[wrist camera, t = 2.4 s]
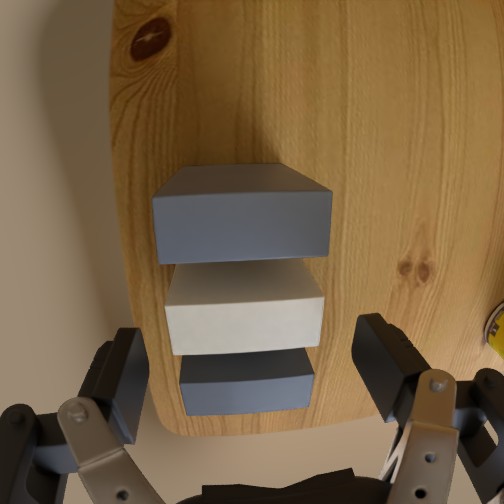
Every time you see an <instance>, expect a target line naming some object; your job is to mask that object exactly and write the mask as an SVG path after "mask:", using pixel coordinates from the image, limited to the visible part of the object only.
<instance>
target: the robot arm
mask: <svg viewBox="0 0 504 504" xmlns="http://www.w3.org/2000/svg"><path fill="white" fill-rule="evenodd" d="M351 352H352V359H353V362H354V364H355V366H356V368H357V370H358V372H359V374H360V376H361V377H362V379H363V381H364V383H365V385H366V387H367V389H368V391H369V393H370V395H371V397H372V399H373V400H374V402H375V404H376V406H377V408H378V410H379V412H380V414H381V416H382V418H383V420H384V422H385V423H388V422H391V421H395V420H397V422H398V424H399V425H398V427H397V429H396V432H395V435H394V438H393V441H392V444H391V447H390V450H389V453H388V455H387V458H386V461H385V464H384V466H383V469H382V471H381V473H380V475H379V477H378V479H375V478H370V477H361V476H355V475H354V472H353V470H352V468H348V469H344V470H339V471H334V472H330V473H324V474H319V475H316V476H313V477H311V478H308V479H306V480H303V481H301V482H298V483H295V484H293V485H290V486H287V487H284V488H266V487H258V486H249V485H242V484H234V485H203V486H202V494H201V495H196V496H193V497H190V498H187V499H185V500H182V501H180V502H178V503H176V504H447V499H448V496H449V491H450V486H451V482H452V476H453V471H454V465H455V460H456V454H458V456H459V458H460V459H461V461H462V463H463V465H464V467H465V469H466V471H467V473H468V475H469V477H470V479H471V481H472V484H473V486H474V488H475V490H476V492H477V494H478V496H479V498H480V500H481V502H482V504H504V376H503V375H502V374H501V373H500V372H498V371H497V370H494V369H491V368H483V369H480V370H479V371H478V372H477V373H476V375H475V377H474V379H473V380H471V381H455V379H454V377H453V376H452V375H450V374H449V373H447V372H446V371H443V370H440V369H432V368H431V367H430V366H429V364H428V363H427V362H426V360H425V359H424V358H423V357H422V355H421V354H420V353H419V351H418V350H417V349H416V348H415V347H413V344H412V343H411V341H410V340H408V338H407V336H406V335H405V334H404V333H403V331H402V330H400V329H399V328H397V327H396V326H394V325H393V324H387V322H386V321H385V320H384V318H383V317H382V316H381V315H380V314H379V313H371V314H363V315H359V316H358V318H357V323H356V328H355V333H354V338H353V343H352V351H351ZM148 378H149V360H148V356H147V352H146V348H145V344H144V340H143V336H142V332H141V329H140V328H119V329H118V331H117V334H116V336H115V338H114V341H106V342H105V343H104V344H103V345H102V346H101V347H100V348H99V349H98V350H97V352H96V354H95V357H94V361H92V363H91V366H90V369H89V370H88V372H87V375H86V377H85V379H84V382H83V384H82V386H81V389H80V391H79V393H78V396H77V397H75V398H72V399H69V400H67V401H66V402H64V403H63V404H62V405H61V406H60V408H59V410H58V412H56V413H49V414H41V415H36V414H35V413H34V411H33V409H32V408H31V407H29V406H28V405H25V404H15V405H12V406H10V407H8V408H7V409H6V410H5V411H4V412H3V413H2V415H1V417H0V504H63V499H64V493H65V488H66V483H67V478H68V474H69V473H76V472H77V473H78V475H79V477H80V479H81V481H82V483H83V485H84V487H85V488H86V490H87V492H88V494H89V496H90V498H91V500H92V501H93V503H94V504H166V503H165V502H164V501H163V500H162V499H161V497H160V496H159V495H158V493H156V491H155V490H154V488H153V487H152V486H151V484H150V483H149V482H148V481H147V479H146V478H145V477H144V475H143V474H142V472H141V471H140V470H139V468H138V467H137V465H136V464H135V463H134V461H133V460H132V459H131V457H130V455H129V454H128V452H127V451H126V450H125V448H123V447H124V444H133V445H134V444H135V441H136V435H137V430H138V425H139V420H140V415H141V410H142V406H143V401H144V396H145V392H146V387H147V383H148ZM487 420H489V422H490V424H491V425H492V427H493V428H494V430H495V431H496V433H497V435H498V440H499V441H498V445H497V446H496V444H495V443H494V441H493V439H492V438H491V436H490V435H489V433H488V431H487V430H486V428H485V427H484V424H485V423H486V421H487Z"/></svg>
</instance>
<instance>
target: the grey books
mask: <svg viewBox="0 0 504 504" xmlns="http://www.w3.org/2000/svg"><path fill="white" fill-rule="evenodd" d="M332 195H333V193H332V191H331V190H329V189H327V188H326V187H324V186H322V185H320V184H319V183H317V182H315V181H313V180H311V179H310V178H308V177H306V176H304V175H302V174H301V173H299V172H297V171H295V170H293V169H291V168H289V167H288V166H286V165H284V164H282V163H255V164H220V165H198V166H183V167H182V168H181V169H180V170H178V171H177V172H176V173H175V174H174V175H173V176H172V177H171V178H170V179H169V180H168V181H167V182H166V183H165V184H164V185H163V186H162V187H161V188H160V189H159V190H158V191H157V192H156V193H155V194H154V195H153V196H152V199H151V201H152V212H153V222H154V231H155V240H156V249H157V257H158V262H159V264H179V263H202V262H224V261H245V260H266V259H286V258H306V257H325V256H328V254H329V241H330V228H331V212H332ZM314 374H315V373H314V371H313V368H312V366H311V363H310V360H309V358H308V355H307V352H306V350H305V347H302V348H292V349H281V350H270V351H257V352H242V353H224V354H199V355H182V362H181V370H180V379H179V385H180V389H181V394H182V398H183V403H184V407H185V411H186V415H187V416H208V415H232V414H247V413H260V412H271V411H280V410H289V409H297V408H304V407H309V405H310V399H311V393H312V387H313V380H314Z"/></svg>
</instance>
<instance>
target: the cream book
mask: <svg viewBox="0 0 504 504" xmlns="http://www.w3.org/2000/svg"><path fill="white" fill-rule="evenodd" d="M324 298H325V297H324V295H323V293H322V291H321V290H320V288H319V287H318V285H317V283H316V282H315V280H314V278H313V277H312V275H311V273H310V272H309V270H308V269H307V267H306V265H305V264H304V262H303V260H302V259H301V258H286V259H266V260H245V261H224V262H202V263H179V264H176V266H175V270H174V273H173V277H172V280H171V284H170V287H169V291H168V295H167V298H166V302H165V306H164V307H165V313H166V319H167V324H168V330H169V336H170V341H171V346H172V351H173V355H199V354H224V353H242V352H257V351H270V350H281V349H292V348H302V347H311V346H318V345H319V340H320V332H321V324H322V316H323V307H324Z"/></svg>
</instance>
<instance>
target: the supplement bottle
mask: <svg viewBox="0 0 504 504" xmlns="http://www.w3.org/2000/svg"><path fill="white" fill-rule="evenodd" d="M485 339H486V341H487V343H488V344H489V345H490V346H491V347H492V348H493V349H494V350H495V351H496V352H497V353H498V354H499V355H500V356H501V357H502V358H503V359H504V303H502V304H501V305H500V306H498V307H497V309H496V310H495V311H494V312H493V314H492V315H491V317H490V318H489V320H488V322H487V325H486V328H485Z"/></svg>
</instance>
